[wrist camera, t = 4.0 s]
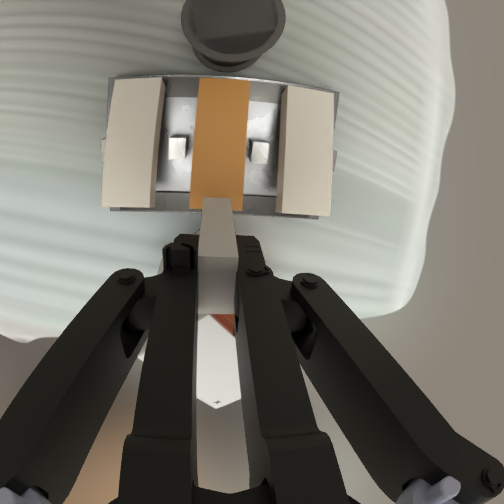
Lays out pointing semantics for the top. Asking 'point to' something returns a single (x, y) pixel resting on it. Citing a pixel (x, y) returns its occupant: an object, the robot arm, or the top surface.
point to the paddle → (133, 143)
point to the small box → (214, 358)
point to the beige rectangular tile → (305, 152)
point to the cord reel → (232, 30)
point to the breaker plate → (182, 136)
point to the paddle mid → (220, 141)
